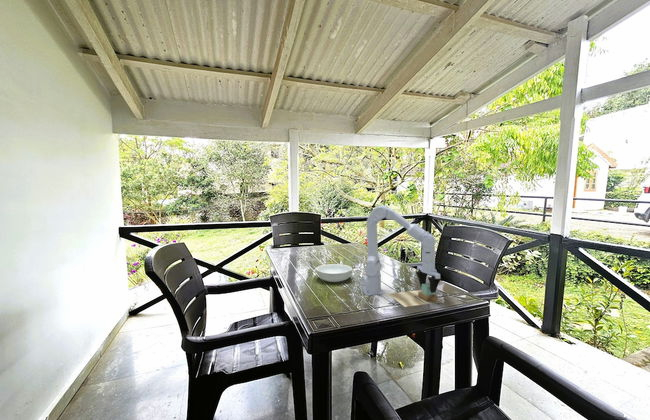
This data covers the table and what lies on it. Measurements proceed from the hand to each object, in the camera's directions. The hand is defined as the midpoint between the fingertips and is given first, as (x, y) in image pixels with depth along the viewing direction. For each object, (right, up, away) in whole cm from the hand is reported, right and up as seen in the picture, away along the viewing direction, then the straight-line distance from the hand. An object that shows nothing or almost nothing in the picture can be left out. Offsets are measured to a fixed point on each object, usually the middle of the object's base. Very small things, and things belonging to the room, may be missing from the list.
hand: (427, 289), depth 127 cm
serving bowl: (-42, -4, +31) cm, 53 cm away
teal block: (0, -2, 0) cm, 2 cm away
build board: (-6, -5, +2) cm, 8 cm away
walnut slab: (0, -4, 0) cm, 4 cm away
